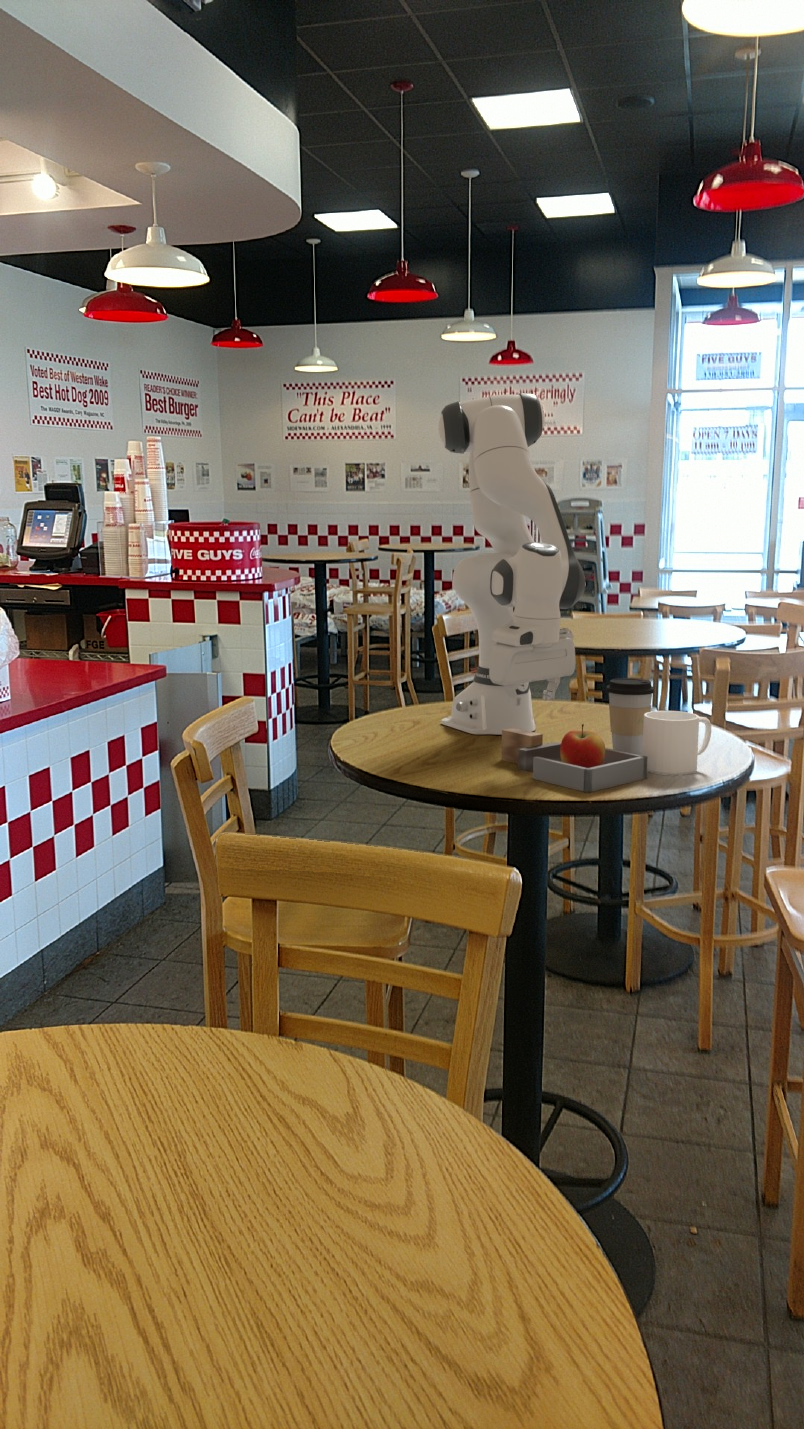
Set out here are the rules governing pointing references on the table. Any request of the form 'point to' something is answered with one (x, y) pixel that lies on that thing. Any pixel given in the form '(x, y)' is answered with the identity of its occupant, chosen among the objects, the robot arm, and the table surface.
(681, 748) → the mug
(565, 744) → the apple
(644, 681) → the coffee cup
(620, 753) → the tray
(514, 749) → the tan grey t-shaped block
